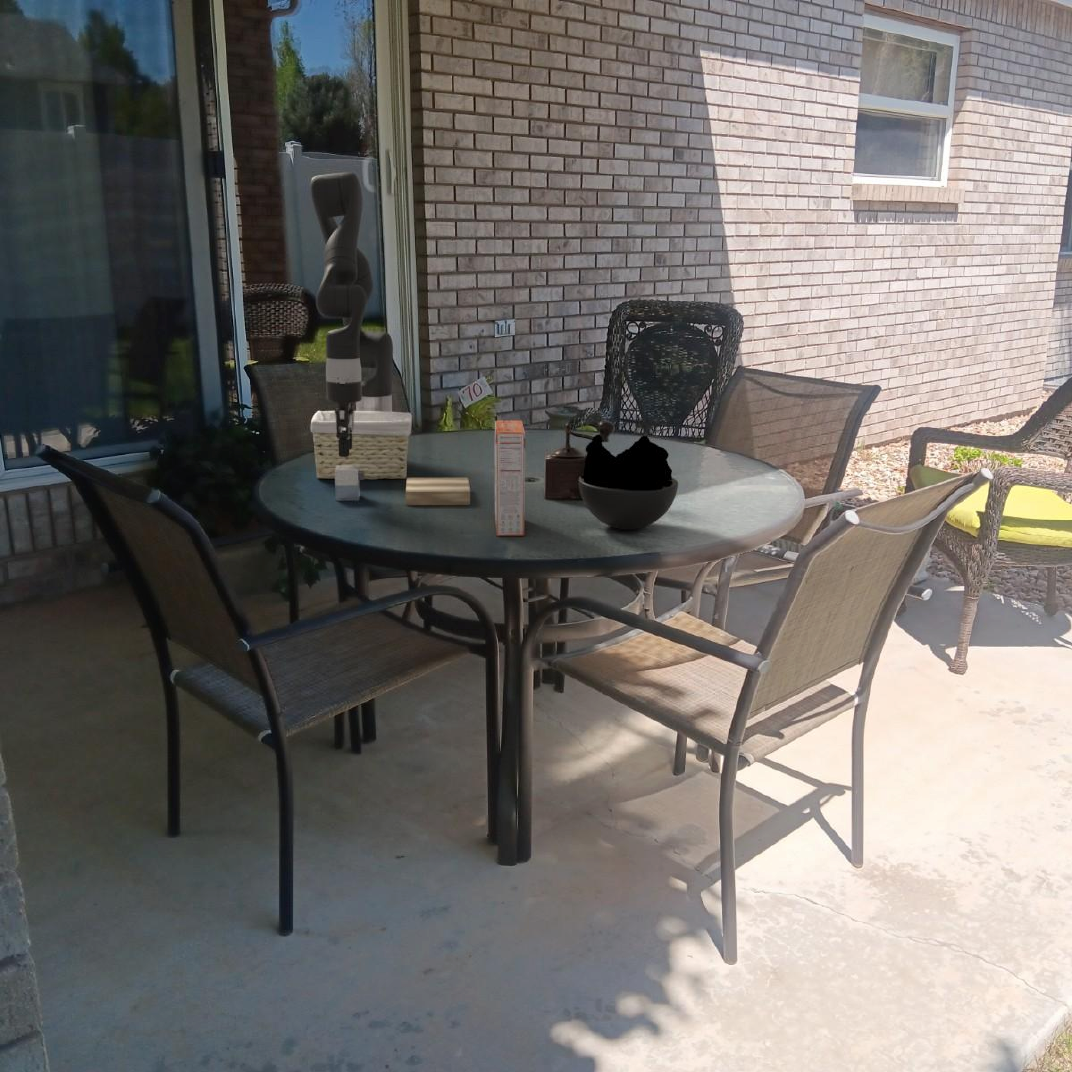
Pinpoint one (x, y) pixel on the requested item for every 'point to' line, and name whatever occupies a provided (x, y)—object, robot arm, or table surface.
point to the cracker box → (509, 477)
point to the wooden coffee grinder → (568, 465)
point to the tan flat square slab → (437, 491)
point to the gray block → (348, 482)
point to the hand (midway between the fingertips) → (345, 452)
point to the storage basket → (364, 443)
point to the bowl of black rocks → (627, 484)
